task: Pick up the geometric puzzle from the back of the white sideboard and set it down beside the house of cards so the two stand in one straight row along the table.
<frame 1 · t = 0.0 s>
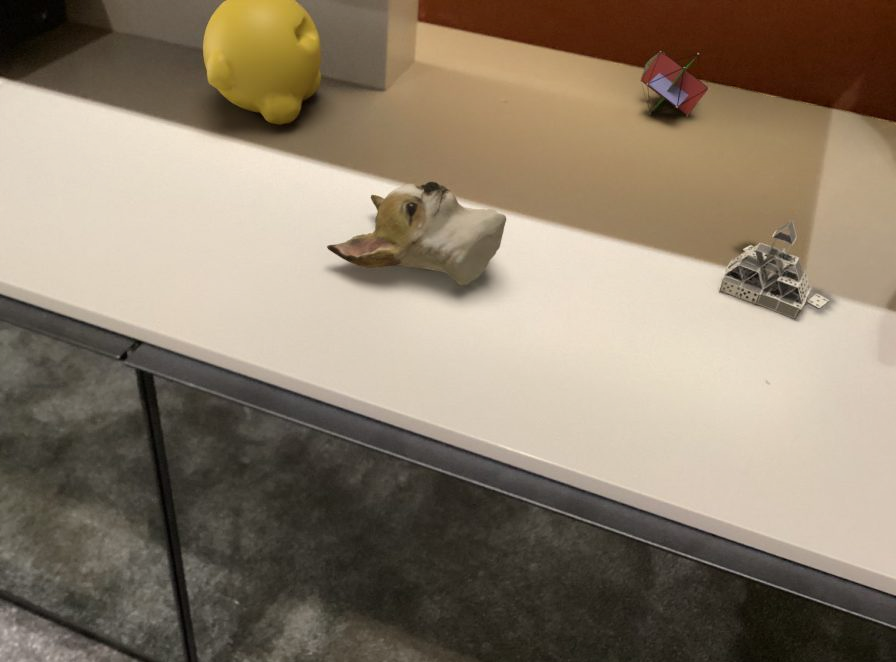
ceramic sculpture: (421, 263, 89), on the table
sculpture: (266, 106, 109), on the table
geometric puzzle: (667, 111, 110), on the table
house of cards: (778, 285, 88), on the table
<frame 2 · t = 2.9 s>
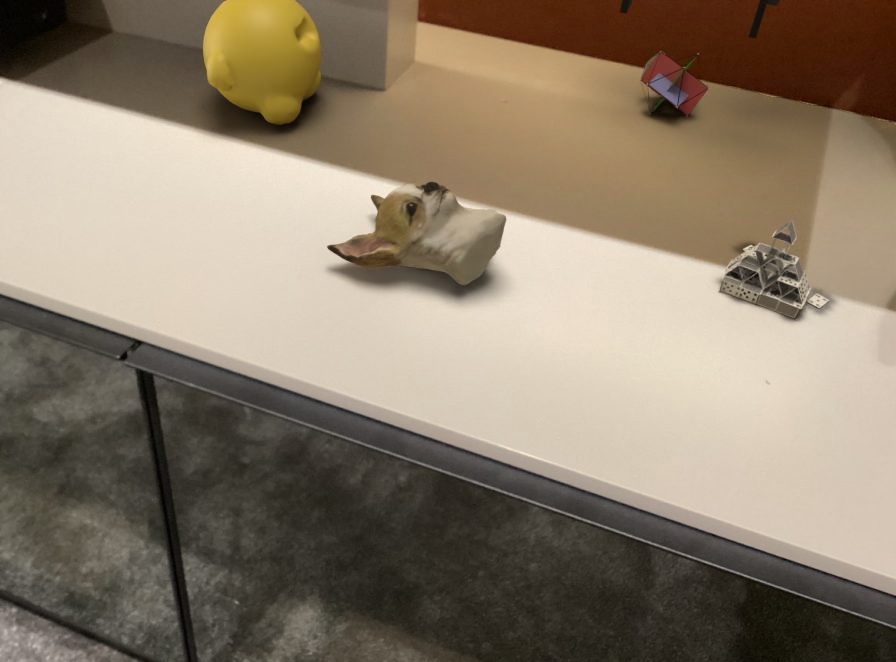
hand: (688, 20, 103), 10 cm above the table, tool pointing down, fingers open, 13 cm apart
nothing on the table moved.
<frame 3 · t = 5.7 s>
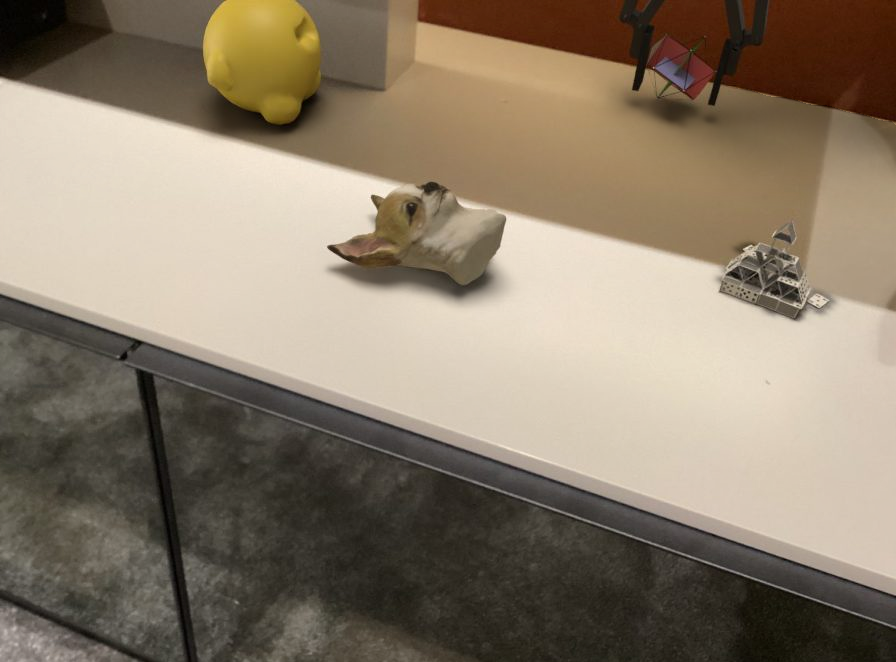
hand: (674, 92, 108), 2 cm above the table, tool pointing down, fingers closed on geometric puzzle, 8 cm apart
geometric puzzle: (673, 96, 109), point 2 cm above the table, touching gripper
everything else where it was.
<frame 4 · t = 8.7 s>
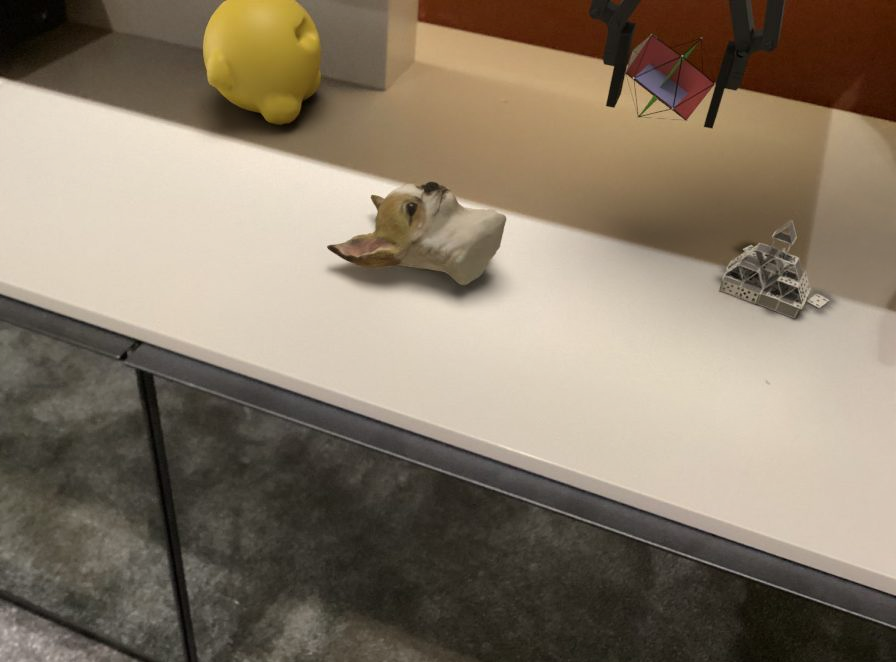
hand: (661, 109, 84), 13 cm above the table, tool pointing down, fingers closed on geometric puzzle, 8 cm apart
geometric puzzle: (660, 114, 84), point 12 cm above the table, touching gripper
everything else where it was.
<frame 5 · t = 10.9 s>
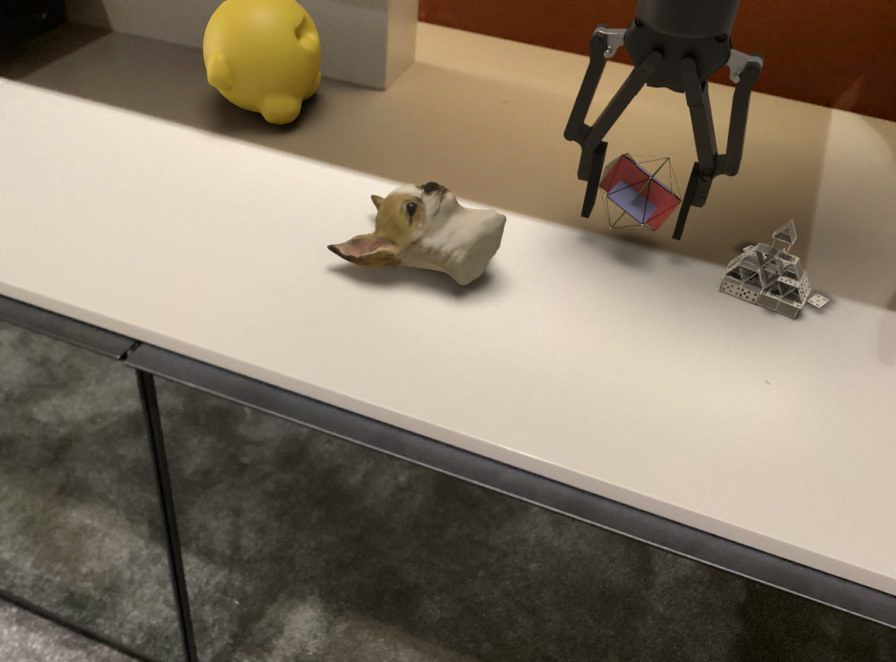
hand: (632, 220, 89), 3 cm above the table, tool pointing down, fingers closed on geometric puzzle, 8 cm apart
geometric puzzle: (631, 224, 89), point 3 cm above the table, touching gripper
everything else where it was.
when the fingers open (0 cm above the table, at t = 12.0 s): geometric puzzle stays where it is, on the table.
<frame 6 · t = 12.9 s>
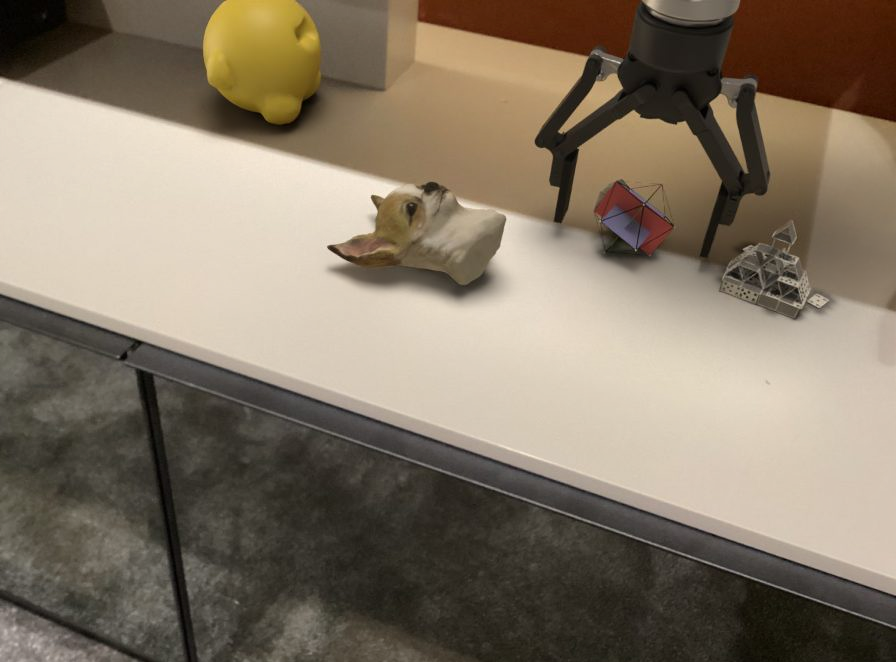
hand: (631, 232, 90), 2 cm above the table, tool pointing down, fingers open, 13 cm apart
geometric puzzle: (625, 248, 91), on the table
everything else where it was.
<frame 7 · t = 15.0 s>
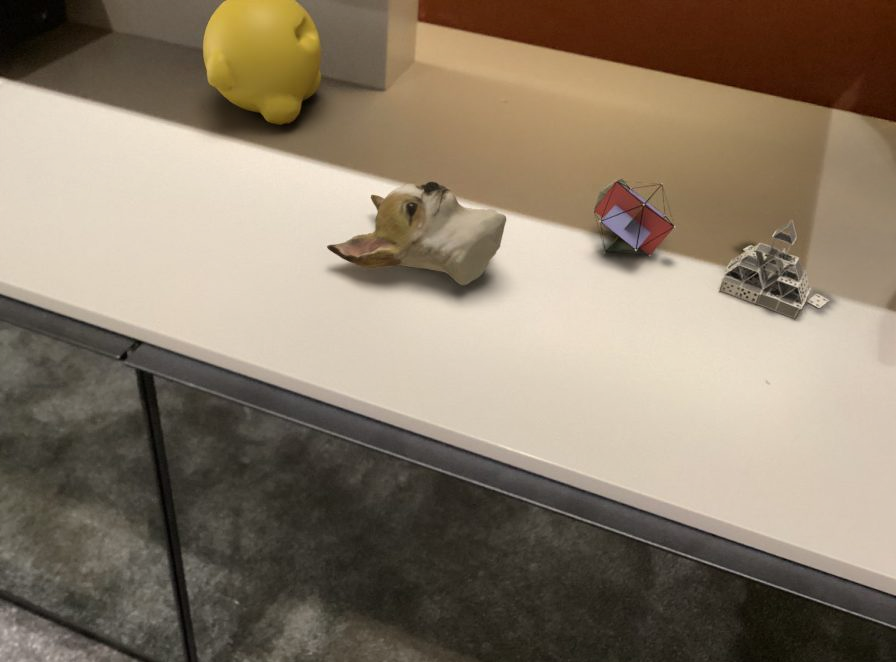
nothing on the table moved.
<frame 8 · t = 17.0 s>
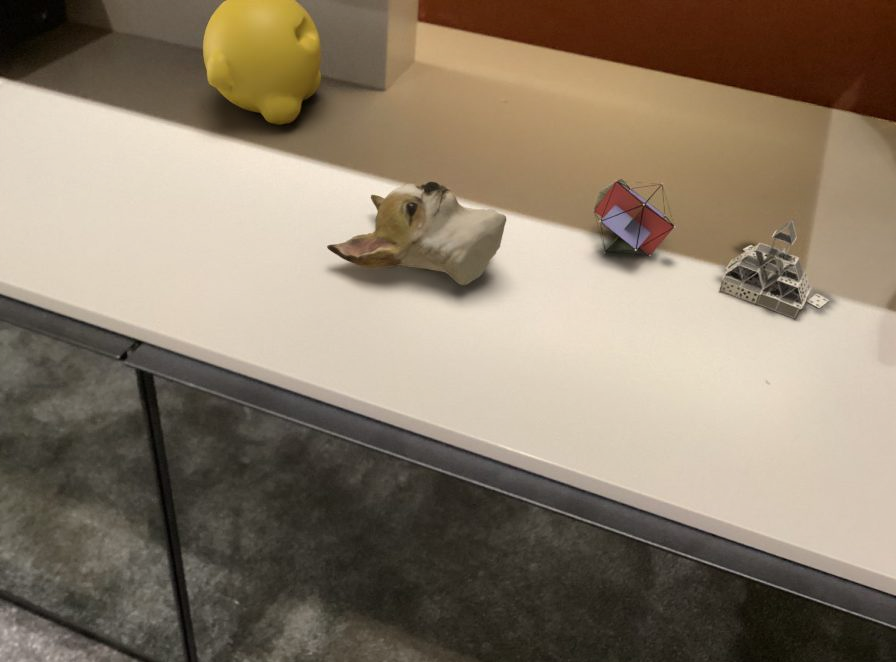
nothing on the table moved.
at the end: geometric puzzle 0.0 cm from the target spot on the table beside the house of cards, on the table; geometric puzzle tilted 0°; house of cards moved 0.2 cm from its start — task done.
